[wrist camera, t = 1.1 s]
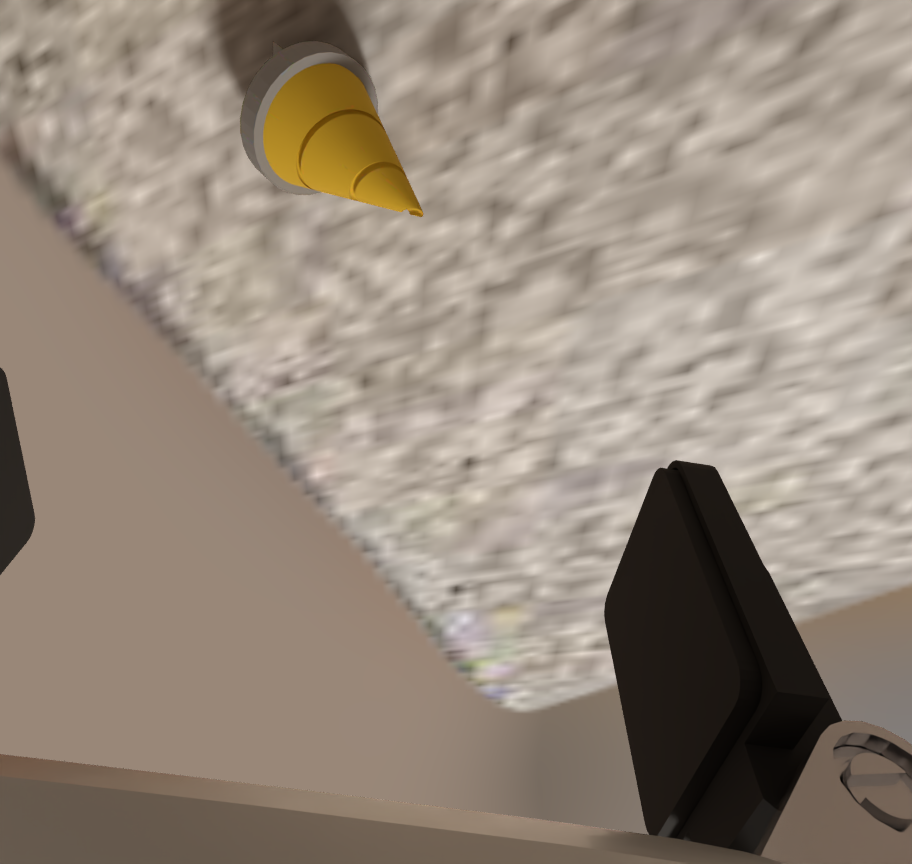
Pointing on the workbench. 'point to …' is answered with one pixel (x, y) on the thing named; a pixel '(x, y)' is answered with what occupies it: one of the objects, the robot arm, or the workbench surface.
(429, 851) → the robot arm
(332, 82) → the drill bit
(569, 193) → the workbench surface
